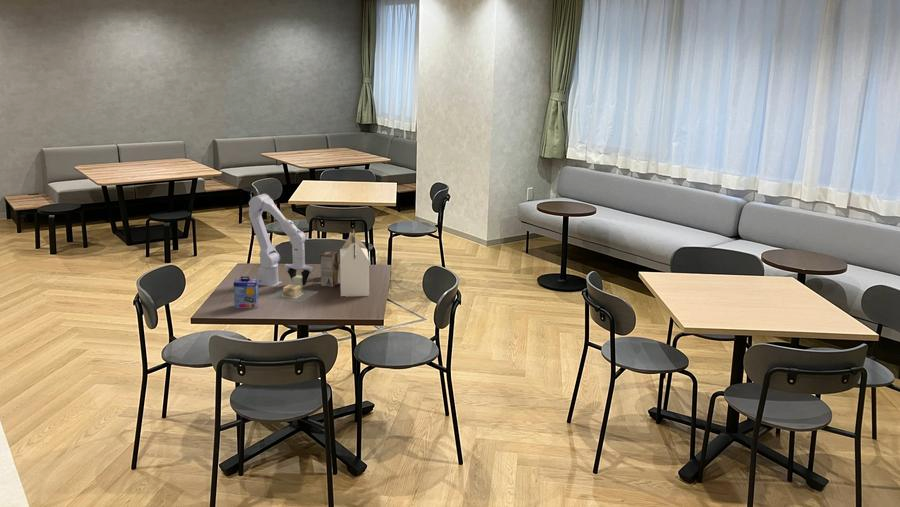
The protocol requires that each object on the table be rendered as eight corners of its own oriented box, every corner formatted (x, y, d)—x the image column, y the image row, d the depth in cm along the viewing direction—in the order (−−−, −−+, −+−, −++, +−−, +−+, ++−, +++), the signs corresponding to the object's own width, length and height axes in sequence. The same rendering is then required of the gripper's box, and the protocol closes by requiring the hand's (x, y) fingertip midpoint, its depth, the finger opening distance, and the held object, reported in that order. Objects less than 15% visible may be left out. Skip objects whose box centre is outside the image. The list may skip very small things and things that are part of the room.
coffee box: (327, 281, 370) (326, 250, 366) (339, 282, 369) (339, 251, 365) (320, 286, 361) (320, 254, 357) (333, 287, 360) (332, 255, 356)
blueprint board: (265, 299, 340) (265, 297, 340) (285, 288, 357) (285, 287, 357) (300, 304, 335) (300, 302, 335) (318, 292, 352) (318, 291, 352)
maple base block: (283, 295, 344) (283, 287, 343) (289, 292, 350) (289, 284, 349) (295, 297, 342) (294, 289, 341) (301, 293, 348) (301, 285, 347)
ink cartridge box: (234, 308, 327) (232, 277, 323) (236, 304, 332) (235, 273, 328) (257, 308, 328) (255, 277, 324) (259, 304, 333) (257, 273, 329)
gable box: (340, 283, 368) (339, 228, 361) (367, 282, 370) (367, 227, 363) (340, 296, 347) (339, 238, 340) (369, 296, 349) (368, 238, 342)
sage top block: (292, 287, 359) (292, 277, 357) (297, 285, 363) (297, 275, 362) (301, 289, 357) (301, 279, 356) (306, 286, 362) (306, 276, 361)
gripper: (316, 256, 358) (316, 283, 361) (289, 253, 362) (290, 280, 366) (309, 260, 352) (309, 287, 355) (281, 257, 356) (282, 284, 359)
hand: (299, 284), depth 360 cm, fingers closed on sage top block, 5 cm apart
